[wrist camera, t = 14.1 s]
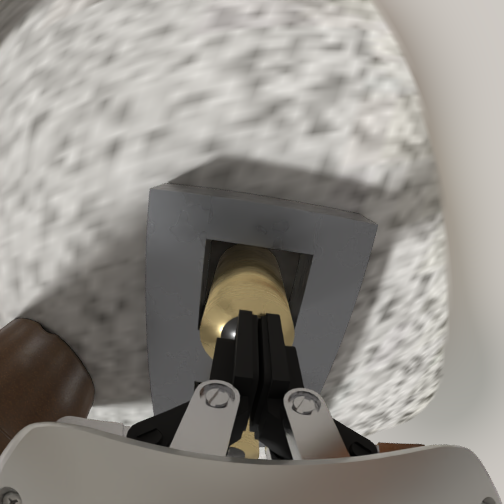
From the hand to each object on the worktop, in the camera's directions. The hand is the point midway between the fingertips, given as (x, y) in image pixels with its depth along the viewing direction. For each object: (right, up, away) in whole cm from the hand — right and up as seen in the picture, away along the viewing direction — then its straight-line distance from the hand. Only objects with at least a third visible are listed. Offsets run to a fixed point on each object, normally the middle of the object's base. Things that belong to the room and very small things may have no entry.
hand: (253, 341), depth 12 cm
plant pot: (-21, -8, +10) cm, 25 cm away
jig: (-1, -2, +8) cm, 9 cm away
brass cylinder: (0, +2, +7) cm, 7 cm away
